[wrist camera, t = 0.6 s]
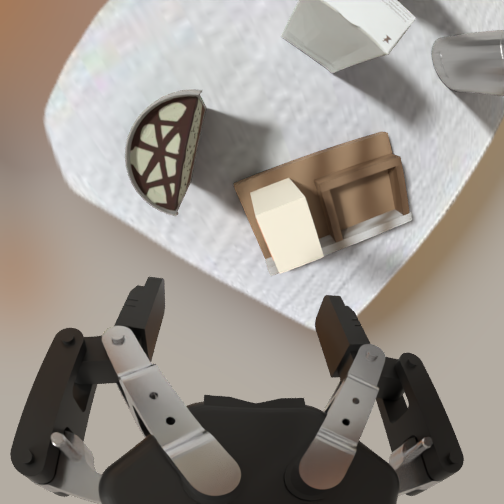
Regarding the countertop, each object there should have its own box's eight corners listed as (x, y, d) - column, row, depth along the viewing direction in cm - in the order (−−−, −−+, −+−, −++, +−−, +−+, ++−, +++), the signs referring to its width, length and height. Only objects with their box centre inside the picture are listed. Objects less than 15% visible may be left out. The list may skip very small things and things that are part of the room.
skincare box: (355, 46, 26) (422, 20, 13) (330, 76, 28) (392, 58, 15) (302, 7, 23) (344, -46, 10) (274, 36, 25) (304, -12, 12)
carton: (288, 177, 33) (305, 196, 25) (305, 227, 36) (323, 257, 29) (248, 193, 33) (253, 216, 26) (269, 241, 36) (278, 274, 29)
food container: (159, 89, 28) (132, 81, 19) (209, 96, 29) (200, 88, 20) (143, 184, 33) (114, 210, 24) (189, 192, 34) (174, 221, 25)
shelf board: (381, 131, 31) (397, 134, 28) (398, 211, 37) (412, 221, 33) (233, 183, 34) (233, 191, 30) (267, 262, 39) (271, 277, 36)
